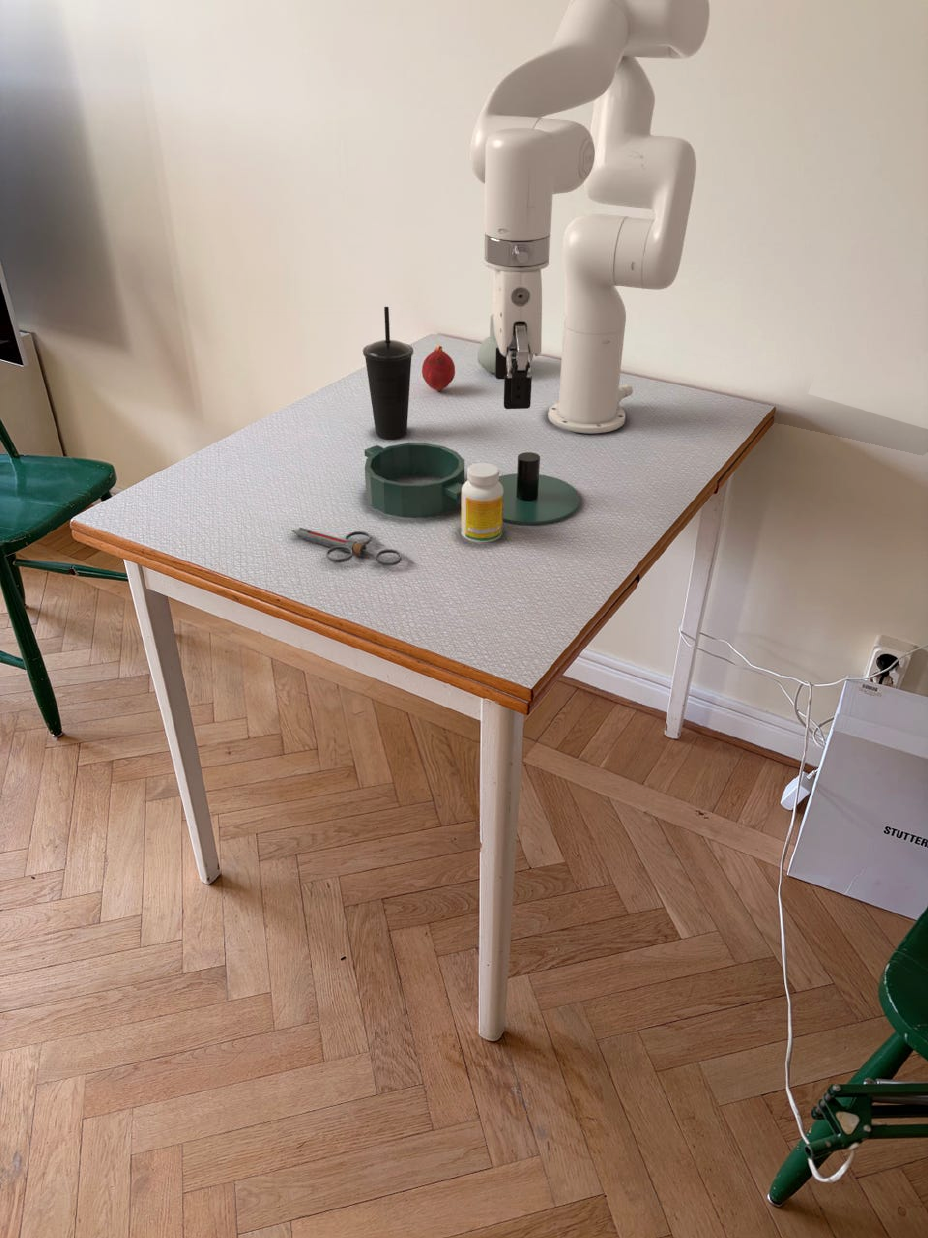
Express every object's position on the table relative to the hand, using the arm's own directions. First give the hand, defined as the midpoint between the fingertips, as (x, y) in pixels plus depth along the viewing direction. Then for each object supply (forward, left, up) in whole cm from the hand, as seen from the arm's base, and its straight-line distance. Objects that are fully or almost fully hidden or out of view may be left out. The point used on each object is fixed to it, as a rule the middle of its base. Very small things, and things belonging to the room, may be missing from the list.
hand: (512, 392), depth 118 cm
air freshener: (-41, -39, -18) cm, 59 cm away
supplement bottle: (+6, +1, -18) cm, 19 cm away
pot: (+5, -13, -18) cm, 22 cm away
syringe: (+22, -9, -18) cm, 30 cm away
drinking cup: (-7, -32, -18) cm, 37 cm away
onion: (-25, -40, -18) cm, 50 cm away
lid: (-5, -1, -17) cm, 18 cm away
